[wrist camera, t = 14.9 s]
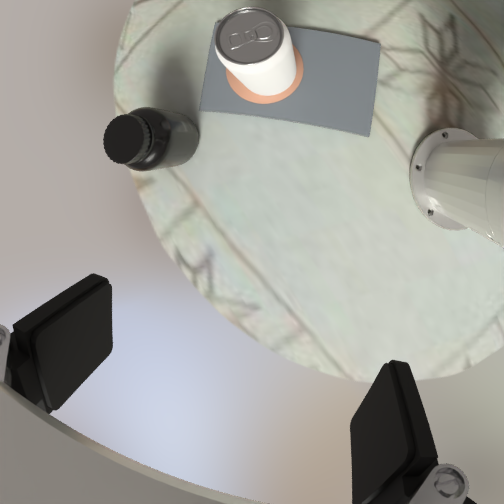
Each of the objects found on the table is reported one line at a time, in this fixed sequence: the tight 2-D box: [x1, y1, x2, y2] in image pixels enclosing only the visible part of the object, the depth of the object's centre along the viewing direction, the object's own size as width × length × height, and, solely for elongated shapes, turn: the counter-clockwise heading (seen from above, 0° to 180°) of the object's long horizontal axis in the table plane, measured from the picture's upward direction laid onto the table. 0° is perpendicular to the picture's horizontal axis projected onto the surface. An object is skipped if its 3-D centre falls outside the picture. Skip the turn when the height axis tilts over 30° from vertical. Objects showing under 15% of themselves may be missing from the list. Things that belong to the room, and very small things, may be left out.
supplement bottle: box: [103, 107, 199, 171], centre depth 31 cm, size 7×7×12 cm
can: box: [214, 7, 296, 96], centre depth 26 cm, size 6×6×12 cm
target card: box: [199, 23, 381, 137], centre depth 32 cm, size 20×12×1 cm, turn 81°
